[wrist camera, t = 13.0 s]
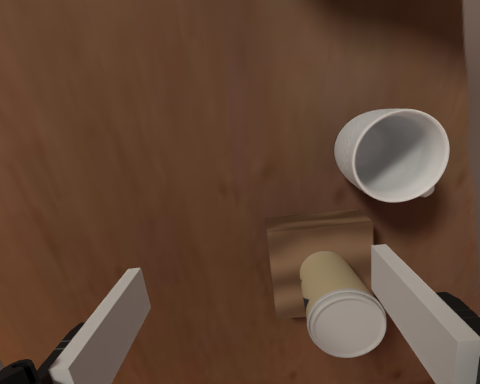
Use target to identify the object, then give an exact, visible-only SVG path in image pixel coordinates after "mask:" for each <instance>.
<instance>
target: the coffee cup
mask: <svg viewBox="0 0 480 384" xmlns="http://www.w3.org/2000/svg"><path fill="white" fill-rule="evenodd" d="M300 281H301V288H302V294H303V300H304V306H305V312H306V317H307V329H308V332H309V335H310V337H311V339H312V340H313V342H314V343H315V344H316V345H317V346H318V347H319V348H320V349H321V350H323V351H324V352H326V353H328V354H330V355H333V356H336V357H342V358H352V357H357V356H361V355H364V354H366V353H368V352H370V351H371V350H373V349H374V348H375V347H376V346H377V345H378V344H379V343H380V342H381V340H382V339H383V337H384V335H385V332H386V314H385V311H384V309H383V307H382V305H381V304H380V303H379V301H378V300H377V299H376V298H375V297H373V295H372V294H371V293H370V291H369V290H368V289H367V287H366V286H365V285H364V283H363V282H362V281H361V280H360V278H359V277H358V276H357V275H356V273H355V272H354V271H353V270H352V268H351V267H350V266H349V264H348V263H347V262H346V261H345V260H344V259H343V258H342V257H341V256H340V255H338V254H336V253H334V252H329V251H321V252H317V253H314V254H312V255H310V256H309V257H308V258H307V259H306V260H305V261H304V262H303V264H302V266H301V268H300Z"/></svg>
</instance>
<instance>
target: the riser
mask: <svg viewBox="0 0 480 384" xmlns="http://www.w3.org/2000/svg"><path fill="white" fill-rule="evenodd" d="M265 222H266V231H267V240H268V248H269V257H270V266H271V274H272V283H273V292H274V301H275V309H276V318H277V319H284V318H297V317H306V312H305V306H304V300H303V294H302V288H301V281H300V268H301V266H302V264H303V262H304V261H305V260H306V259H307V258H308V257H309V256H310V255H312V254H314V253H317V252H321V251H329V252H334V253H336V254H338V255H340V256H341V257H342V258H343V259H344V260H345V261H346V262H347V263H348V264H349V266H350V267H351V268H352V270H353V271H354V272H355V273H356V275H357V276H358V277H359V278H360V280H361V281H362V282H363V283H364V285H365V286H366V287H367V289H368V290H369V291H370V293H371V294H372V295H373V290H372V288H371V246H372V245H373V221H372V220H370V219H369V218H368V217H367V216H366V215H365V214H364V213H363V212H362V211H361V210H359V209H351V210H341V211H332V212H323V213H313V214H304V215H295V216H285V217H276V218H266V219H265Z"/></svg>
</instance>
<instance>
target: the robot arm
mask: <svg viewBox="0 0 480 384" xmlns="http://www.w3.org/2000/svg"><path fill="white" fill-rule="evenodd" d="M371 288H372V290H373V292H374V293H375V295H376V296H377V298H378V299H379V301H380V302H381V304H382V305H383V307H384V308H385V310H386V311H387V313H388V314H389V316H390V317H391V318H392V320H393V321H394V323H395V324H396V326H397V327H398V329H399V330H400V332H401V333H402V335H403V336H404V338H405V339H406V341H407V342H408V344H409V345H410V347H411V348H412V350H413V351H414V352H415V354H416V355H417V357H418V358H419V360H420V361H421V363H422V364H423V366H424V367H425V369H426V370H427V372H428V373H429V375H430V376H431V378H432V379H433V381H434V382H435V384H480V318H479V317H478V315H477V314H475V313H474V312H473V311H472V310H470V308H469V307H468V306H467V305H465V304H464V303H463V302H462V301H461V300H460V299H458V298H456V297H455V296H453V295H451V294H449V293H447V292H439V293H435V292H434V291H433V290H432V289H431V288H430V287H429V286H428V285H427V284H426V283H425V282H424V281H423V280H422V279H421V278H420V277H419V276H418V275H416V274H415V273H414V272H413V271H412V270H411V269H410V268H409V267H408V266H407V265H406V264H405V263H404V262H403V261H402V260H401V259H400V258H399V257H398V256H397V255H396V254H395V253H394V252H393V251H392V250H391V249H390V248H389V247H388V246H387V245H386V244H382V245H372V246H371ZM150 308H151V306H150V302H149V298H148V294H147V290H146V286H145V282H144V278H143V275H142V271H141V268H134V269H128V270H127V271H126V272H125V274H124V275H123V276H122V277H121V279H120V280H119V281H118V282H117V284H116V285H115V286H114V287H113V289H112V290H111V291H110V293H109V294H108V295H107V296H106V298H105V299H104V300H103V301H102V303H101V304H100V305H99V306H98V308H97V309H96V310H95V311H94V313H93V314H92V315H91V316H90V318H89V319H88V320H87V321H86V322H83V323H80V324H78V325H77V326H76V327H75V328H73V329H72V330H71V331H70V332H69V333H68V334H67V335H66V336H65V338H64V339H63V340H62V342H60V344H59V345H58V346H57V347H56V350H54V351H53V352H52V353H51V354H50V356H49V357H48V358H47V359H46V360H45V362H44V363H43V364H42V365H41V366H40V368H39V369H38V370H37V371H36V369H35V366H34V364H33V362H32V360H29V359H24V360H19V361H17V362H14V363H12V364H10V365H8V366H7V367H5V368H3V369H2V370H1V371H0V384H111V383H112V381H113V379H114V377H115V376H116V374H117V372H118V370H119V368H120V366H121V364H122V362H123V360H124V358H125V356H126V354H127V353H128V351H129V349H130V347H131V345H132V343H133V341H134V339H135V337H136V335H137V333H138V331H139V330H140V328H141V326H142V324H143V322H144V320H145V318H146V316H147V314H148V312H149V310H150Z"/></svg>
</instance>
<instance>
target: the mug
mask: <svg viewBox="0 0 480 384" xmlns="http://www.w3.org/2000/svg"><path fill="white" fill-rule="evenodd" d="M334 151H335V152H334V153H335V158H336V162H337V165H338V167H339V169H340V170H341V172H342V173H343V174H344V176H345V177H346V178H347V179H348V180H349V181H350V182H351V183H352V184H354V185H355V186H356V187H358V189H360V190H362V191H363V192H364V193H366V194H368V195H369V196H371V197H373V198H375V199H377V200H380V201H384V202H403V201H408V200H411V199H414V198H416V197H419V196H421V197H427V196H429V195H430V194H431V193H432V192H433V191H434V189H435V187H434V185H435V184H436V183H437V181H438V180H439V179H440V177H441V176H442V174H443V172H444V170H445V168H446V166H447V163H448V158H449V141H448V137H447V134H446V132H445V130H444V128H443V127H442V126H441V124H440V123H439V122H438V121H437V120H436V119H435V118H433V117H432V116H430V115H429V114H426V113H424V112H421V111H418V110H413V109H383V110H376V111H370V112H366V113H364V114H361V115H359V116H357V117H355V118H354V119H352V120H351V121H349V122H348V123H347V124H346V125H345V126H344V127H343V129H342V130H341V132H340V133H339V135H338V137H337V139H336V143H335V149H334Z"/></svg>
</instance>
